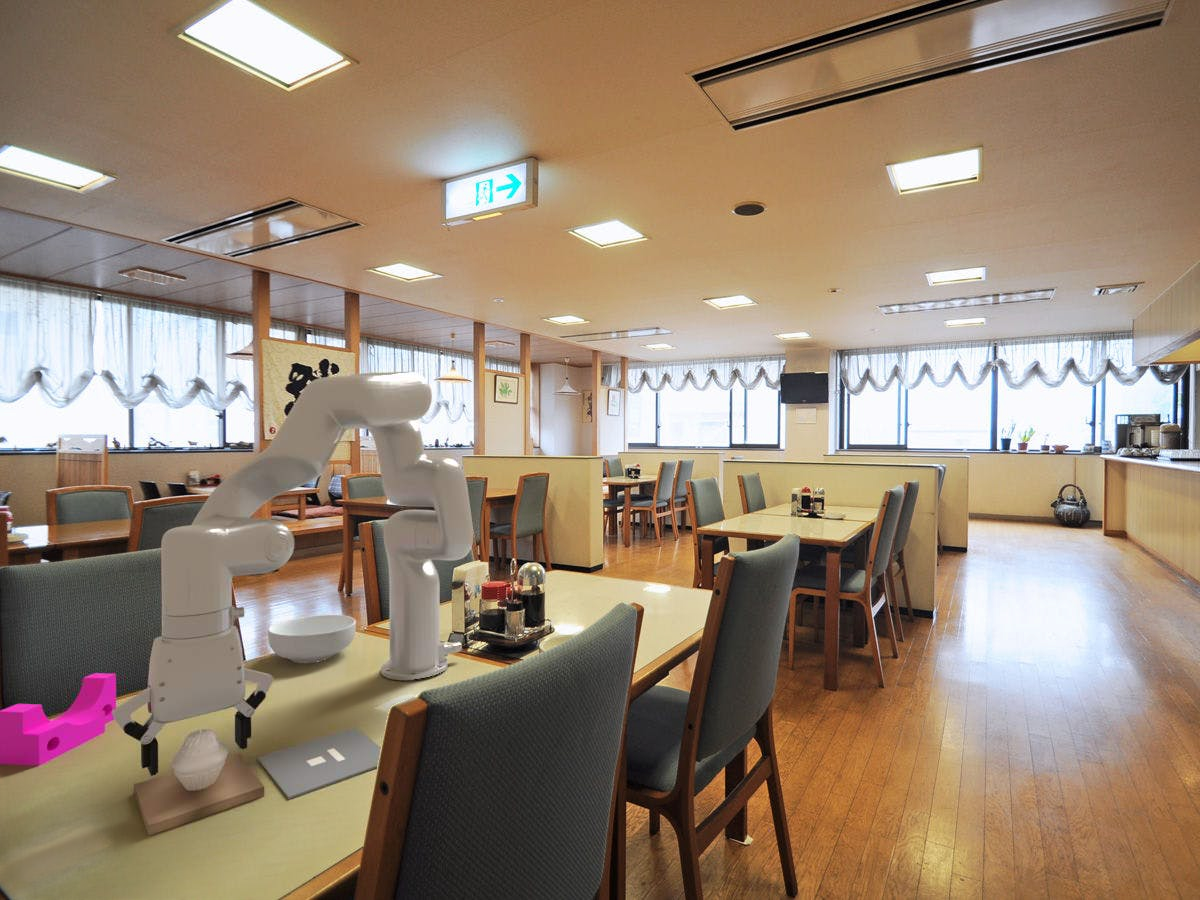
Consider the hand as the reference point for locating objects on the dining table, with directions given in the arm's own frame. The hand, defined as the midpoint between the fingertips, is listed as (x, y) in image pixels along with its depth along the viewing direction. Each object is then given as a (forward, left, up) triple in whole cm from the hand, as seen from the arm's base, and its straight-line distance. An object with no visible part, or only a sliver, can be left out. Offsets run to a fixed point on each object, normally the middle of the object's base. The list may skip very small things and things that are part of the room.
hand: (198, 757), depth 80 cm
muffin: (0, 0, -4) cm, 4 cm away
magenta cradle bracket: (+11, -31, -5) cm, 33 cm away
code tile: (-15, +2, -5) cm, 16 cm away
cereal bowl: (-29, -45, -5) cm, 54 cm away
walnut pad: (0, 0, -5) cm, 5 cm away
